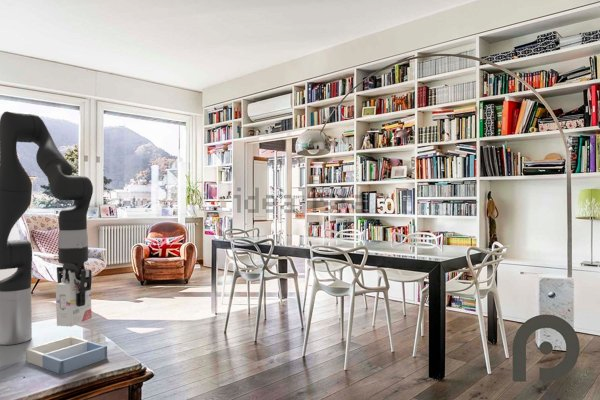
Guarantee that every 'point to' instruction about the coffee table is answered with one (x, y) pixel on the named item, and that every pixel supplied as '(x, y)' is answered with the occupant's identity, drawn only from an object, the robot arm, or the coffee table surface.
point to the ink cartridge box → (71, 304)
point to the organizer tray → (66, 354)
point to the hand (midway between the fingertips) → (74, 304)
